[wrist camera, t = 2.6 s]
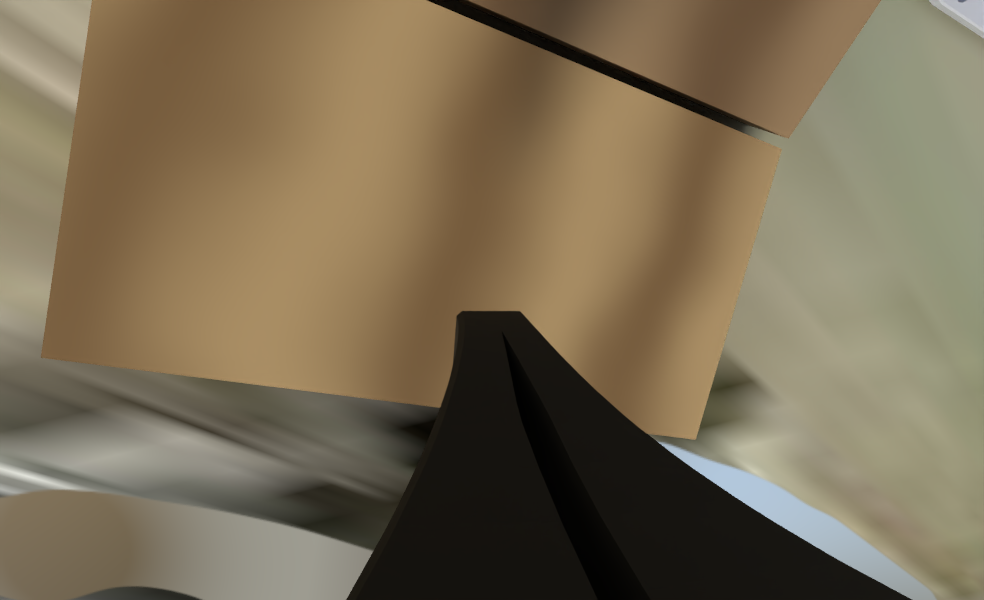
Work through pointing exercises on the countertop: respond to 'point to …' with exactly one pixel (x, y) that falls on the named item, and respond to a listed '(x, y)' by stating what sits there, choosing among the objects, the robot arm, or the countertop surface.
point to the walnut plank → (707, 46)
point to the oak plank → (389, 205)
